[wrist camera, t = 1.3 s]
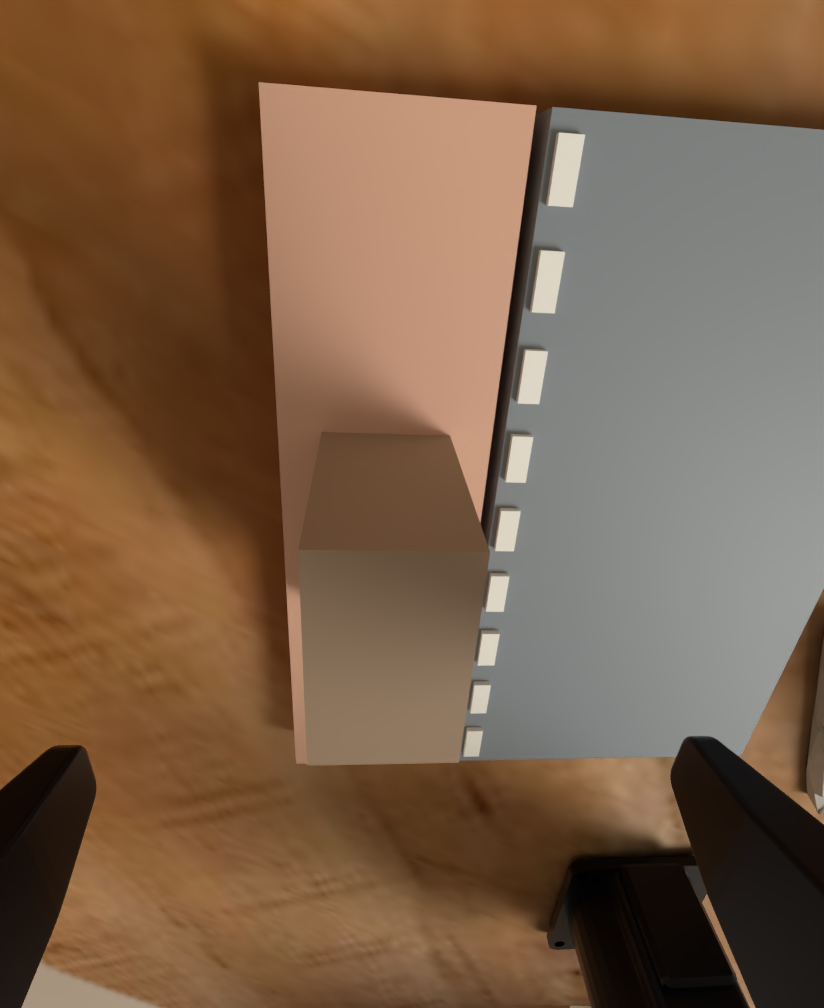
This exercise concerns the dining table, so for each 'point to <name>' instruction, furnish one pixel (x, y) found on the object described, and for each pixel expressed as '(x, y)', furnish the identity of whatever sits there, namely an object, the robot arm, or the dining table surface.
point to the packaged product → (817, 746)
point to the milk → (579, 1006)
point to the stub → (387, 400)
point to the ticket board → (653, 439)
